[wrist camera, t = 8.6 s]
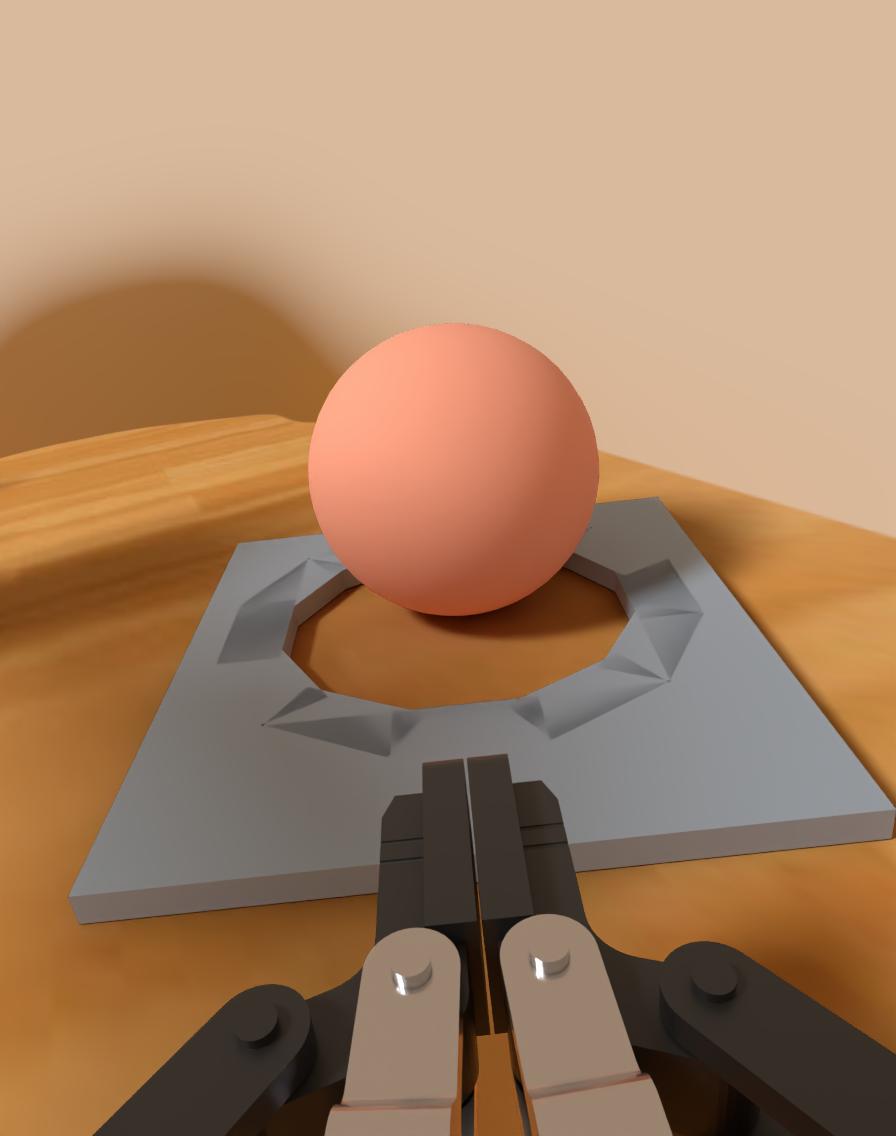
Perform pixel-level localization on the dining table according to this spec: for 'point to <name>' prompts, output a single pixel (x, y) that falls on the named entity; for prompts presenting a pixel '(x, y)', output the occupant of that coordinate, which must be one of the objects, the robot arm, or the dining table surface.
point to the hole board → (471, 741)
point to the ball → (453, 469)
